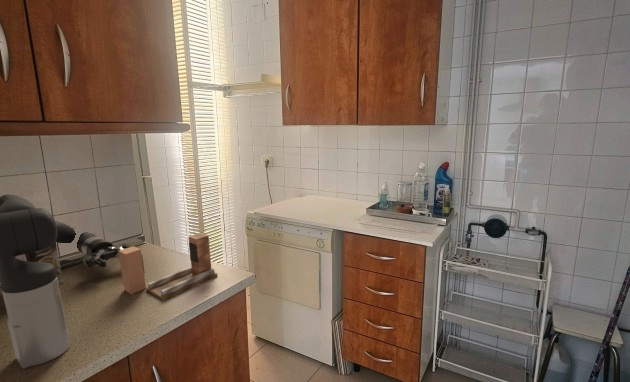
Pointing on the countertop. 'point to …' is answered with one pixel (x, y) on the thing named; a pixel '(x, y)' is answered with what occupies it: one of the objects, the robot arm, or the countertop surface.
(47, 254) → the coffee box
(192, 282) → the rail base
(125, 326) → the countertop surface
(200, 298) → the countertop surface
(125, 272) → the block
